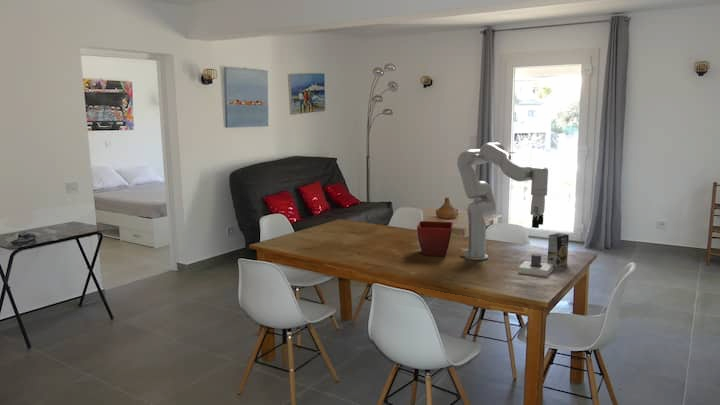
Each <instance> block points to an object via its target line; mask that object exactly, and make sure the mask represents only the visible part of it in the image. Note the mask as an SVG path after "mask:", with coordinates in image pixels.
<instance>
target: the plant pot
mask: <svg viewBox="0 0 720 405" xmlns="http://www.w3.org/2000/svg"><path fill="white" fill-rule="evenodd" d="M453 223H454V222H451V221H431V220H430V221H429V220H421V221H420V220H419V223H418V224H417V226H416V232H417V238H418V242H419V243H418V244H419V247H420V251H421V253H422V256H432V257H433V256H434V257H435V256H436V257H445V256H446V255H447V251H448V248H449V246H450V241H451V236H452V229H453Z"/></svg>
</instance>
